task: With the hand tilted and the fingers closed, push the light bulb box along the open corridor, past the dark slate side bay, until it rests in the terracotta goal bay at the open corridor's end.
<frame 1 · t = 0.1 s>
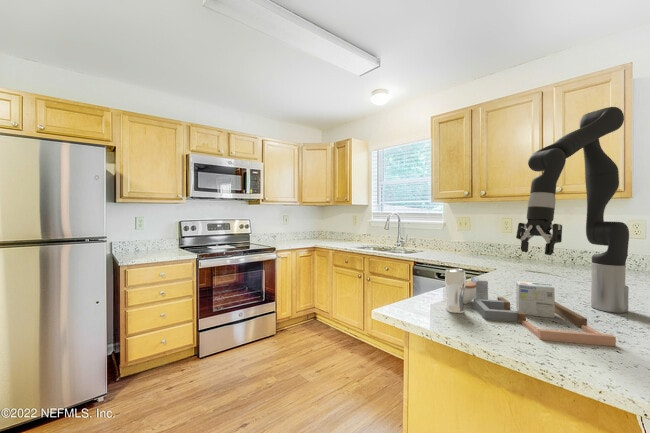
hand: (535, 253, 100), 22 cm above the countertop, tool pointing down, fingers open, 8 cm apart
open corridor: (537, 315, 103), on the countertop
light bulb box: (534, 314, 105), on the countertop
medicine box: (479, 299, 122), on the countertop
lidded jar: (461, 301, 119), on the countertop
silver metal can: (454, 311, 107), on the countertop
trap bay: (496, 313, 104), on the countertop
goal bay: (562, 333, 87), on the countertop
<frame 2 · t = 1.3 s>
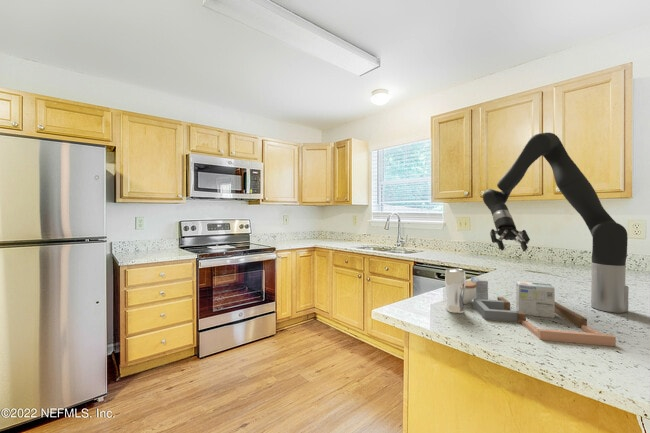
hand: (514, 249, 122), 21 cm above the countertop, tool tilted 45°, fingers open, 8 cm apart
nothing on the countertop moved.
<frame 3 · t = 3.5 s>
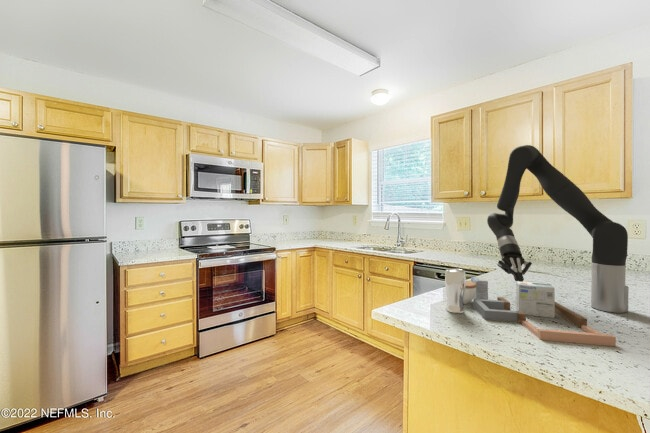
hand: (520, 282, 116), 9 cm above the countertop, tool tilted 45°, fingers closed
nothing on the countertop moved.
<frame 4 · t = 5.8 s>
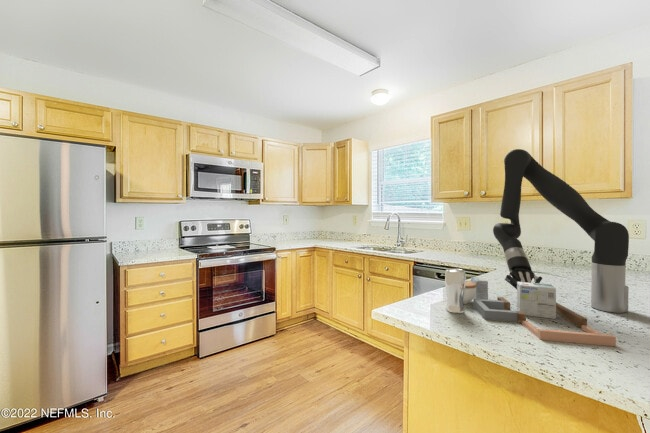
hand: (530, 298, 108), 4 cm above the countertop, tool tilted 45°, fingers closed
light bulb box: (535, 314, 104), on the countertop, touching gripper
everything else where it was.
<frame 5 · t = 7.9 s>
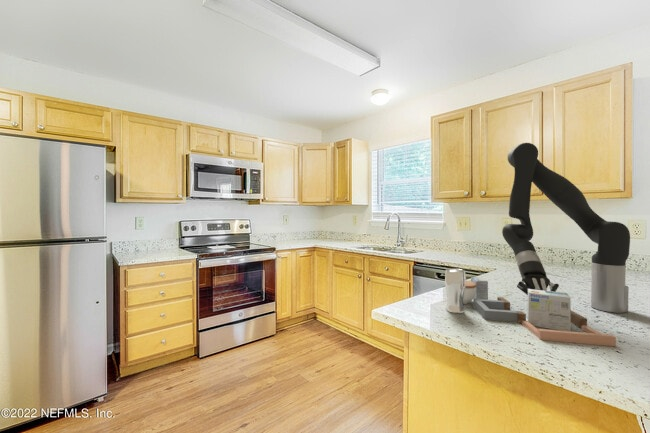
hand: (546, 308, 96), 4 cm above the countertop, tool tilted 45°, fingers closed
light bulb box: (547, 326, 93), on the countertop, touching gripper
everything else where it was.
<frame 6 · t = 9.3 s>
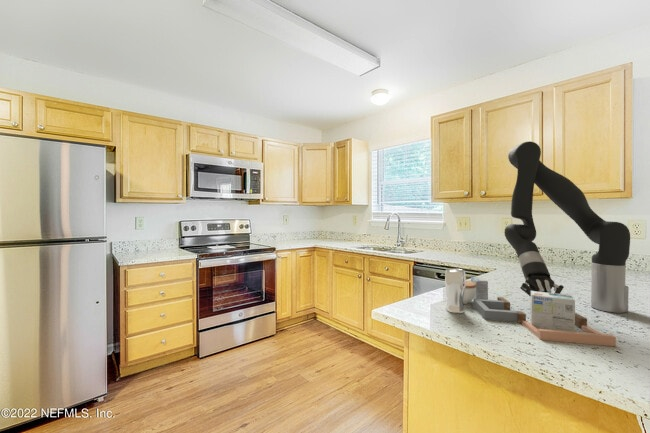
hand: (550, 311, 94), 4 cm above the countertop, tool tilted 45°, fingers closed
light bulb box: (551, 329, 91), on the countertop, touching gripper
everything else where it was.
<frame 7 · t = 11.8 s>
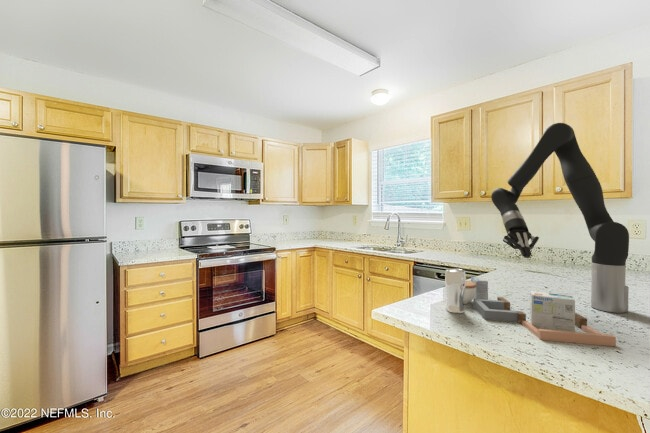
hand: (527, 256, 110), 20 cm above the countertop, tool tilted 45°, fingers closed
light bulb box: (551, 329, 91), on the countertop
everything else where it was.
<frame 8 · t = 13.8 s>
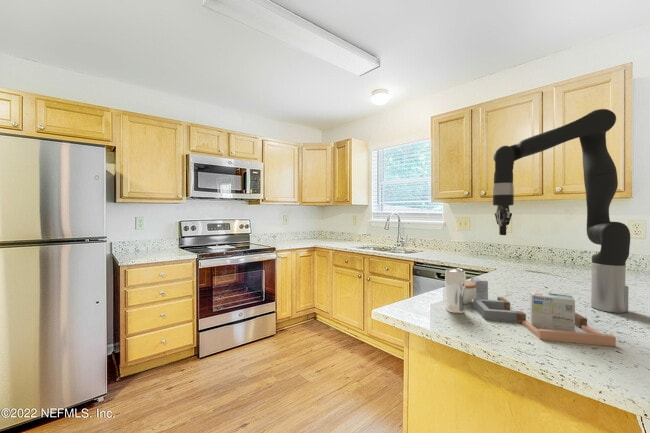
hand: (502, 235, 123), 27 cm above the countertop, tool pointing down, fingers closed
nothing on the countertop moved.
at the end: light bulb box inside the target area (3.3 cm from its centre), on the countertop; light bulb box tilted 0°; light bulb box moved 15.0 cm from its start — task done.
